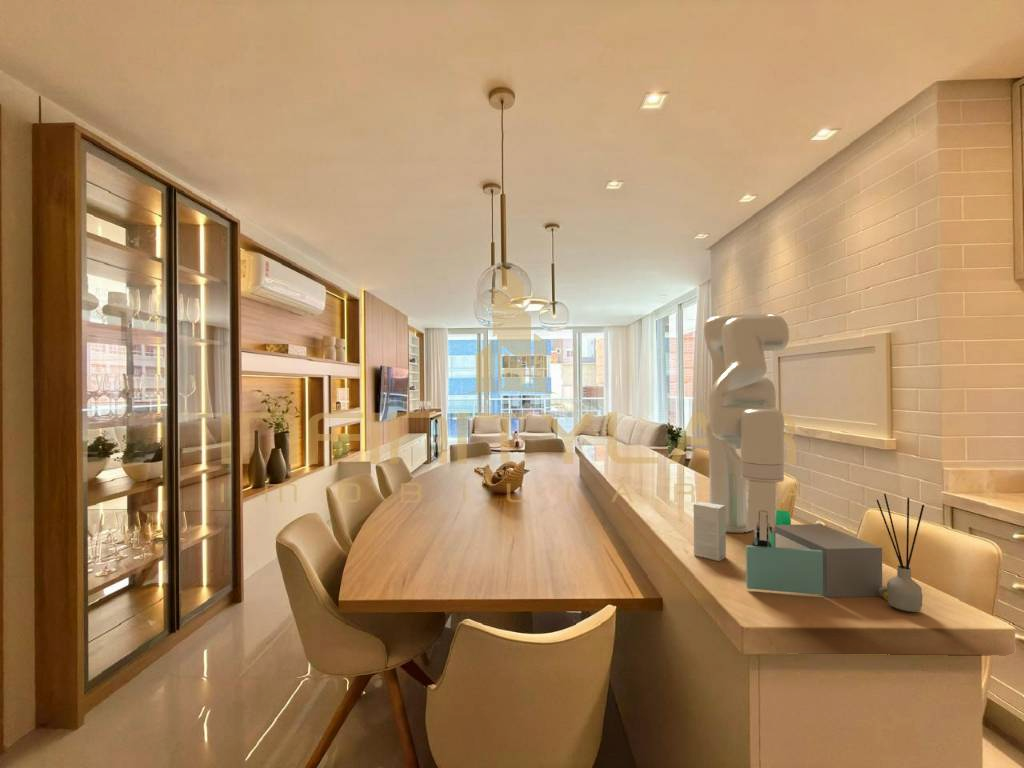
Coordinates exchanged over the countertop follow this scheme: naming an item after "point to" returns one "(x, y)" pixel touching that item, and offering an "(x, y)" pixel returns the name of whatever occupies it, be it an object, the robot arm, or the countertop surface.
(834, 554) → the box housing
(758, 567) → the side door
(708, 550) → the skincare box
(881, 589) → the reed diffuser
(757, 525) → the robot arm
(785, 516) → the camera mount
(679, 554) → the countertop surface
